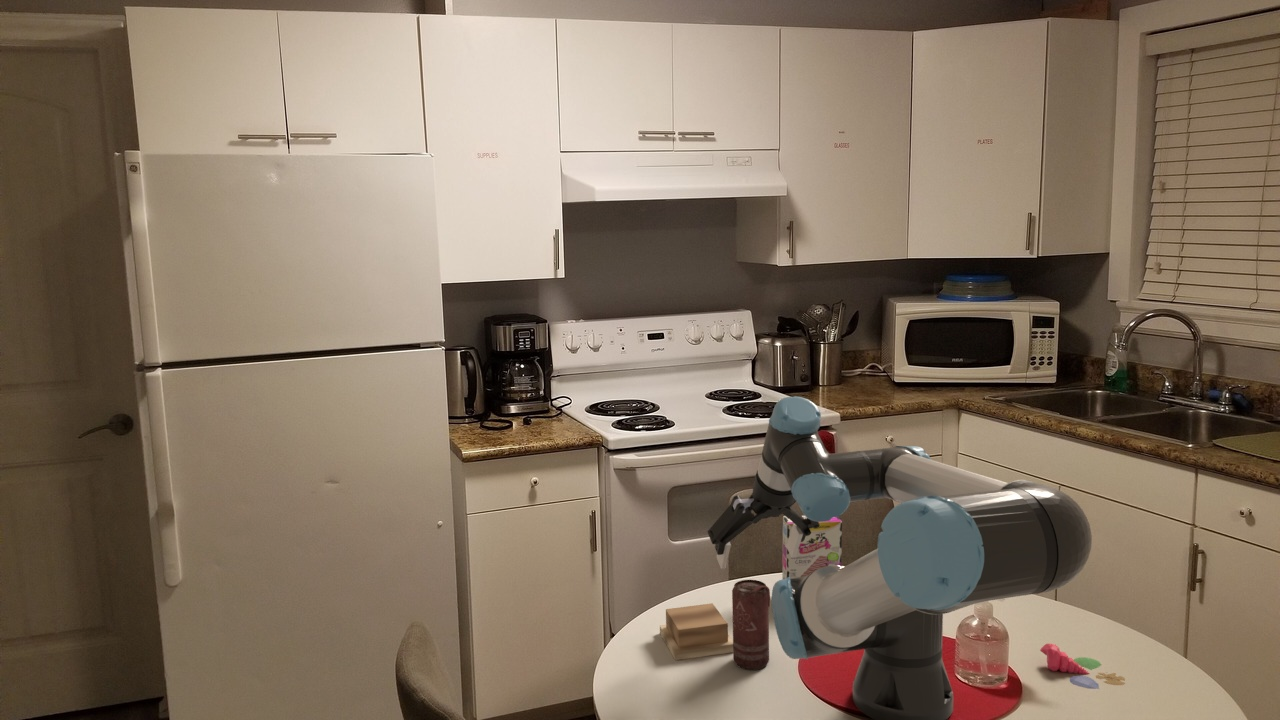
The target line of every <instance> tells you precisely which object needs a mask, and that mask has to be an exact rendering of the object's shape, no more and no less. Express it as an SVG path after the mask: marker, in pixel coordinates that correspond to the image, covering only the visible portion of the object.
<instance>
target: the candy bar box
mask: <svg viewBox="0 0 1280 720" xmlns="http://www.w3.org/2000/svg"><path fill="white" fill-rule="evenodd" d="M800 515H801V514H800ZM801 516H802V517H803V518H804V519H806V518H807V517H806V516H805V515H804V514H803V515H801ZM819 525H820V526H819V527H818V528H817V529H814V528H813V527H812V528H810V531H811V534H810V535H809V536H806V537H805V540H804V541H803V542H800V545H799V548H798V551H797V554H796V557H794V558H792V557H791V555H790V553H789V551H788V549H787V547H786V545H787V542H788V539H789V535H790V532H791V529H792V526H793V522H792V521H791V520H790V519H788V518H787V517H786V516H785V515H783V516H782V570H781V572H782V574H781V575H782V579H781V580H783V579H787V577H790V578H797V577H803V576H807V575H809V574H811V573H813V572H814V571H816V570H818V569H820V568H822V567H825V566H830V565H840V566H842V555H843V554H842V549H843V548H842V541H843V540H842V539H843V538H842V537H843V536H842V535H843V521H842V520H841V519H840V517H839V516H838V517H833V518H831V519H830V520H829V521H825V522H819Z"/></svg>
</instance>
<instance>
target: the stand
mask: <svg viewBox="0 0 1280 720" xmlns="http://www.w3.org/2000/svg"><path fill="white" fill-rule="evenodd" d="M659 634H660V636H661V638H662V639H663V641H664V643H665V644H666V647H667V648H668V650H669V652H670V654H671V655H672V657H673V658H674V661H678V660H679V661H680V660H685V659H694V658H701V657H707V656H715V655H723V654H729V653H733V638H732V637H731V636H730V634H729V623H728V622H727V620H726V619H725V617H724V616H723V615H722V613H720V611H719V610H718V609H717V607H716V606H715V605H714V603H704V604H697V605H689V606H680V607H672V608H666V609H665V624H662V625H659Z"/></svg>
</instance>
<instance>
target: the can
mask: <svg viewBox="0 0 1280 720" xmlns="http://www.w3.org/2000/svg"><path fill="white" fill-rule="evenodd" d="M770 591H771V590H770V588H769V587H768V586H767V585H766V583H765V582H763V581H762V580H761V581H760V580H756V579H743V580H740V581H737V582H735V583H734V585H733V588H732V590H731V594H732V595H731V597H732V598H731V599H732V601H731V602H732V603H731V604H732V607H731V608H732V640H733V652H732V654H733V655H732V656H733V657H732V658H733V662H734V663H735V665H736V667H739V668H741V669H744V670H748V671H757V670H760V669H763V668H765V667H766V666H768V663H769V662H770V624H769V623H770V617H769V614H770V613H769V609H770V603H771V593H770Z"/></svg>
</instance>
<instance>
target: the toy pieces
mask: <svg viewBox="0 0 1280 720" xmlns="http://www.w3.org/2000/svg"><path fill="white" fill-rule="evenodd" d="M1039 651H1040V652H1041V653H1043V654H1044V655H1045V656H1046V663H1047V668H1048V670H1051V672H1057V671H1060V672H1061V673H1066V672H1067V673H1069V674H1072V673H1074V674H1078V675H1073V676H1071V677H1069V683H1071V685H1073V686H1076V687H1081V688H1084V689H1089V690H1091V689H1092V690H1100V686H1099V683H1098V682H1096V681H1095V680H1094V679H1093V678H1091V677H1089V676H1085V675H1090V672H1088V671H1087V670H1086V669H1088V670H1090V671H1093V670H1096V669H1097V668H1099V667H1101V666H1102V663H1101V662H1100V661H1099V660H1097V659H1095V658H1091V657H1086V656H1085V657H1083V656H1080V657H1079V656H1078V657H1076V658H1074V659H1073V658H1072V657H1069V655H1068V654H1067V653H1066V652H1065V651H1061V650H1060V647H1058V645H1056V644H1054V643H1046V644H1044V645H1043V646H1042V647H1041V648H1040V649H1039ZM1079 674H1081V675H1079ZM1116 675H1117V673H1115V672H1113V673H1108V674H1107V673H1106V672H1097V674H1096V675H1095V678H1096V679H1099V680H1103V681H1102V682H1103V683H1104V684H1108V685H1111V686H1112V685H1113V686H1125V685H1126V682H1125V681H1126V678H1125V677H1124V676H1122V675H1118V676H1116ZM1104 680H1105V681H1104Z"/></svg>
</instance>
